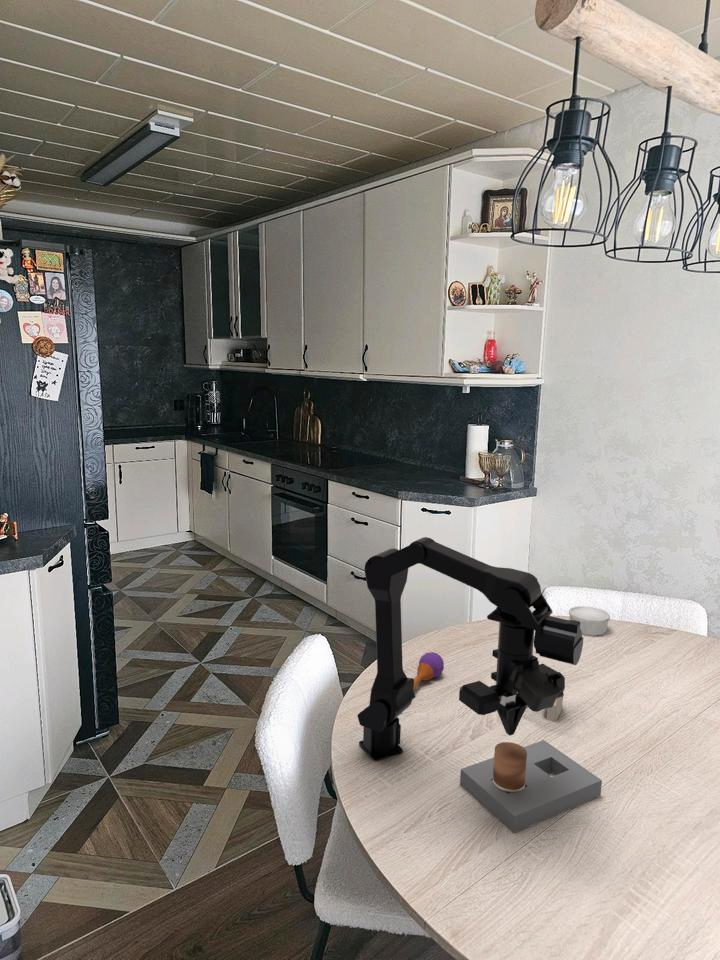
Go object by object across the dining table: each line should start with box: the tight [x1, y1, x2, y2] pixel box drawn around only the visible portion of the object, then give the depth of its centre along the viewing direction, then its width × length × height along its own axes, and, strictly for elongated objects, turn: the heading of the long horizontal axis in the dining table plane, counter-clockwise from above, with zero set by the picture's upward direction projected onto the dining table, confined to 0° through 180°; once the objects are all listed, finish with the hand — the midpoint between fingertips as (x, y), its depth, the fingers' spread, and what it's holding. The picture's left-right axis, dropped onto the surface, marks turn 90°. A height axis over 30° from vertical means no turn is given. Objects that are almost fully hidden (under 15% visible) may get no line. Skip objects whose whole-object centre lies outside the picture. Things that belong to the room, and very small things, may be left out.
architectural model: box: [546, 696, 564, 722], centre depth 142 cm, size 3×7×7 cm, turn 150°
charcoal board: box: [459, 739, 603, 834], centre depth 116 cm, size 20×14×3 cm
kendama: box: [413, 651, 445, 691], centre depth 152 cm, size 6×6×20 cm
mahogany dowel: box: [493, 741, 527, 794], centre depth 113 cm, size 6×6×9 cm
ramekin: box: [568, 605, 611, 637], centre depth 188 cm, size 11×11×5 cm
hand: (509, 734), depth 112 cm, fingers closed
